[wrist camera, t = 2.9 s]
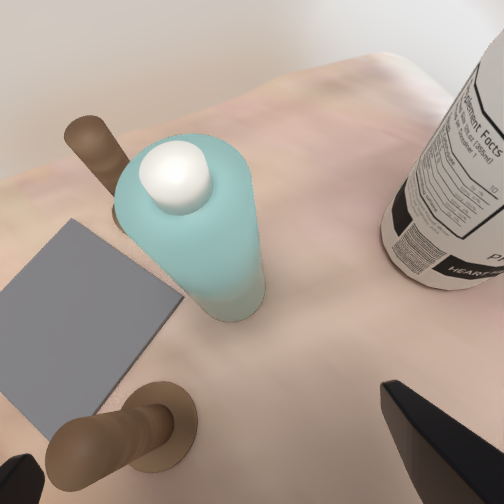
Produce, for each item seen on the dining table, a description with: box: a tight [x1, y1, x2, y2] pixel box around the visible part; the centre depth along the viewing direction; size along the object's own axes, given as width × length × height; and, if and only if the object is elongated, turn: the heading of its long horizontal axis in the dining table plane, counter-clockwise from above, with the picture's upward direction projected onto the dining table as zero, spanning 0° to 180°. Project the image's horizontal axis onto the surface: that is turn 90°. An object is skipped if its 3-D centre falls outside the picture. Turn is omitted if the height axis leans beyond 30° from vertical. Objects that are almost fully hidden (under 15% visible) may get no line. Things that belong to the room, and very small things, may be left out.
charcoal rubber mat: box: [0, 218, 184, 442], centre depth 23 cm, size 12×12×1 cm
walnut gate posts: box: [45, 116, 197, 492], centre depth 19 cm, size 21×5×9 cm, turn 11°
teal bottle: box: [114, 134, 265, 322], centre depth 17 cm, size 5×5×14 cm
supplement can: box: [381, 29, 504, 290], centre depth 17 cm, size 8×8×15 cm
